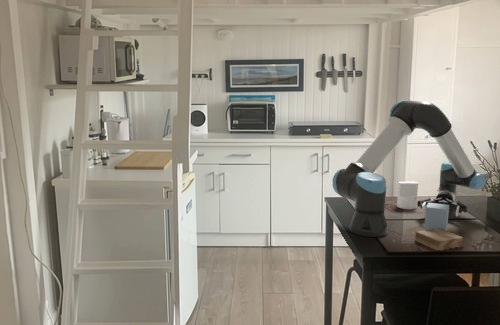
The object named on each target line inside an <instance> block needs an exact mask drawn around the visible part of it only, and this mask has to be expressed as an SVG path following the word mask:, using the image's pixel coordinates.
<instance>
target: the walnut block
mask: <svg viewBox="0 0 500 325" xmlns="http://www.w3.org/2000/svg"><path fill="white" fill-rule="evenodd" d="M414 238H415V239H414V241H415V242H418V243H419V244H422V245H424V246H426V247H428V248H431V249H433V250H435V251H437V250H440V251H445V250H444V249H446V250H450V249H449V248H452V249H456V248H455V247H458V248H462V247H461V246H464V237H463V236H461V235H458V234H456V233H454V232H450V231H449V230H447V231H446V230H443V229H441V228H437V229H430V230H424V229H423V230H419V231H415V237H414Z"/></svg>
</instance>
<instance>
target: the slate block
mask: <svg viewBox="0 0 500 325" xmlns="http://www.w3.org/2000/svg"><path fill="white" fill-rule="evenodd" d="M424 212H425V213H424V214H425V215H424V226H423V228H424V229H423V230H430V229H437V228H441V229H443V230H446V231H448V225H449V224H448V223H449V213H450V209H449V205H445V204H437V203H428V204H427V206H426V208H425V211H424Z"/></svg>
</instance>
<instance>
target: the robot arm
mask: <svg viewBox="0 0 500 325" xmlns="http://www.w3.org/2000/svg"><path fill="white" fill-rule="evenodd" d="M389 112H390V114H389V118H388V124H387V125H386V126H385V128H384V129H383V130H382V131H381V133H380V134H379V135H378V136H377V137H376V138H375V139H374V141H373V142H372V143H371V144H370V145H369V146H368V147H367V149H366V150H365V151H364V152H363V154H362V155H361V156H360V157H359V158H358V160H357V161H356V162H351V163H349V165H348V166H347V167H346V168H341V169H338V170H337V171H336V172H335V173H334V175H333V177H332V181H331V182H332V189H333V190H334V192H335V193H336V194H337V195H339V196H340V197H341V198H344V199H347V200H351V201H353V202H355V203H354V204H355V205H354V213H353V215H352V218H351V222H350V224H349V231H350V232H351V233H353V234H355V235H357V236H361V237H369V238H370V237H371V238H374V237H375V238H377V237H384V236H386V235H388V232H389V230H388V229H389V226H388V223H387V222H388V221H387V219H386V215H385V210H386V198H387V197H386V194H387V181H386V178H385V177H384V176H383V175H381V174H379V173H375V172H376V170H377V169H378V168H379V167H380V166H381V165H382V163H383V162H384V161H385V159H387V157H389V155H390V154H391V153H392V151H393V150H394V149H395V148H396V147H397V145H398V144H399V143H400V142H401V141H402V140H403V138H404V137H405V136H406V137H407V136H411V134H412V133H413V132H414V131H415V129H421V130H424V131H426V133H428V135H429V136H430V138H434V139H435V141H436V143H437V144H438V146H439V147H440V149H441V151H442V153H443V154H444V155H445V158H446V159H447V161H445V162H442V163H441V166H440V173H439V174H440V175H439V185H438V186H439V187H438V193H437V195H436V196H435V198H433V199H432V198H431V197H426V198H423V199H419V200H417V206H416V207H418V208H421V213H424V212H425V211H426V206H427V204H428V203H437V204H445V205H449V210H454V211H456V212H455V216H456V217H459V214H462V213H468V206H467V205H465V204H463V203H462V202H461V200H457V201H455V199H456V198H457V186H460V187H463V188H466V189H467V188H468V189H470V190H475V191H476V190H477V191H479V190H481V189H483V188H484V187H485V185H486V176H485V175H484V174H483V173H481V172H477V171H476V169H475V168H474V166H473V163H471V161H470V158H469V157H468V155H467V153H466V152H465V151H464V149H463V147H462V145H461V143H460V142H459V140H458V139H457V137H456V135H455V133H454V132H453V130H452V127H453V125H452V123H451V121H450V120H449V118H448V117H447V116H446V114H445V113H444V111H443V110H441V108H439V106H437V105H436V104H434V103H431V102H429V101H422V100H421V101H419V100H411V99H404V100H399V101H398V102H396V103H394V104H393V105H392V107H391V109H390V110H389ZM454 201H455V202H454Z"/></svg>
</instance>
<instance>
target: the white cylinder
mask: <svg viewBox="0 0 500 325" xmlns="http://www.w3.org/2000/svg"><path fill="white" fill-rule="evenodd" d="M397 184H398V186H397V198H396V199H397V200H396V202H397V203H396V207H397V208H400V209H402V210H403V209H404V210H416V209H417V207H418V206H417V204H418V191H419V190H418V189H419V183H418V182H417V181H398V183H397Z"/></svg>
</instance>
